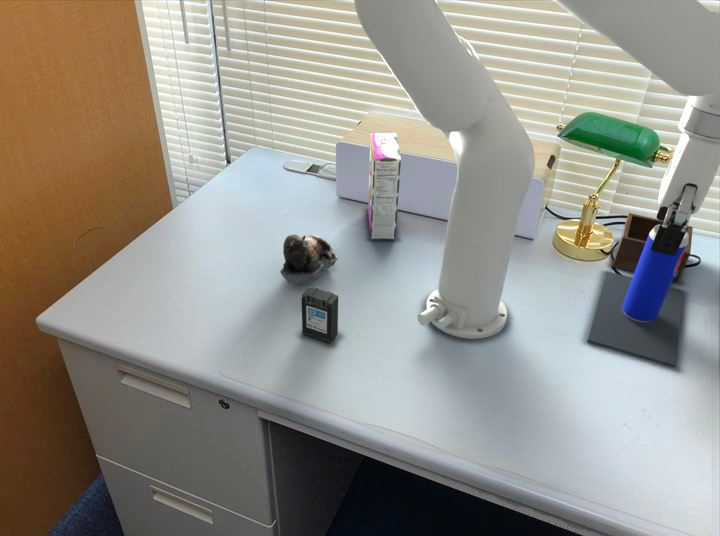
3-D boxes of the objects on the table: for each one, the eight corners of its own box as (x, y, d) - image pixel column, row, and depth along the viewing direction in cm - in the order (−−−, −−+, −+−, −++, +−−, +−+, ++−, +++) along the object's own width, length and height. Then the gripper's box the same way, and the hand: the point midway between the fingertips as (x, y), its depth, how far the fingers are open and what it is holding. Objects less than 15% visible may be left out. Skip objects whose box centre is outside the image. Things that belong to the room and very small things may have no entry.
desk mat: (674, 367, 90) (675, 365, 89) (586, 342, 94) (587, 339, 94) (682, 292, 104) (683, 290, 103) (605, 273, 108) (606, 271, 108)
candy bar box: (366, 210, 125) (370, 132, 115) (391, 210, 125) (397, 132, 115) (368, 240, 116) (373, 158, 106) (395, 240, 116) (402, 158, 106)
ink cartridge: (301, 335, 95) (300, 293, 90) (308, 326, 97) (308, 285, 92) (330, 345, 93) (331, 303, 89) (337, 336, 95) (338, 294, 90)
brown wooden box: (677, 283, 106) (690, 253, 102) (612, 266, 110) (622, 237, 106) (680, 255, 112) (693, 226, 109) (619, 241, 116) (628, 212, 112)
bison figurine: (309, 253, 113) (308, 203, 107) (344, 263, 110) (345, 213, 104) (274, 288, 105) (271, 236, 99) (311, 300, 102) (310, 248, 96)
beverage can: (659, 326, 96) (695, 243, 87) (623, 322, 97) (655, 239, 88) (652, 305, 100) (685, 224, 91) (618, 301, 101) (648, 221, 92)
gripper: (685, 94, 87) (642, 203, 97) (678, 138, 74) (630, 258, 85) (746, 104, 84) (696, 215, 95) (749, 152, 72) (691, 274, 82)
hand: (665, 235), depth 90 cm, fingers open, 9 cm apart
